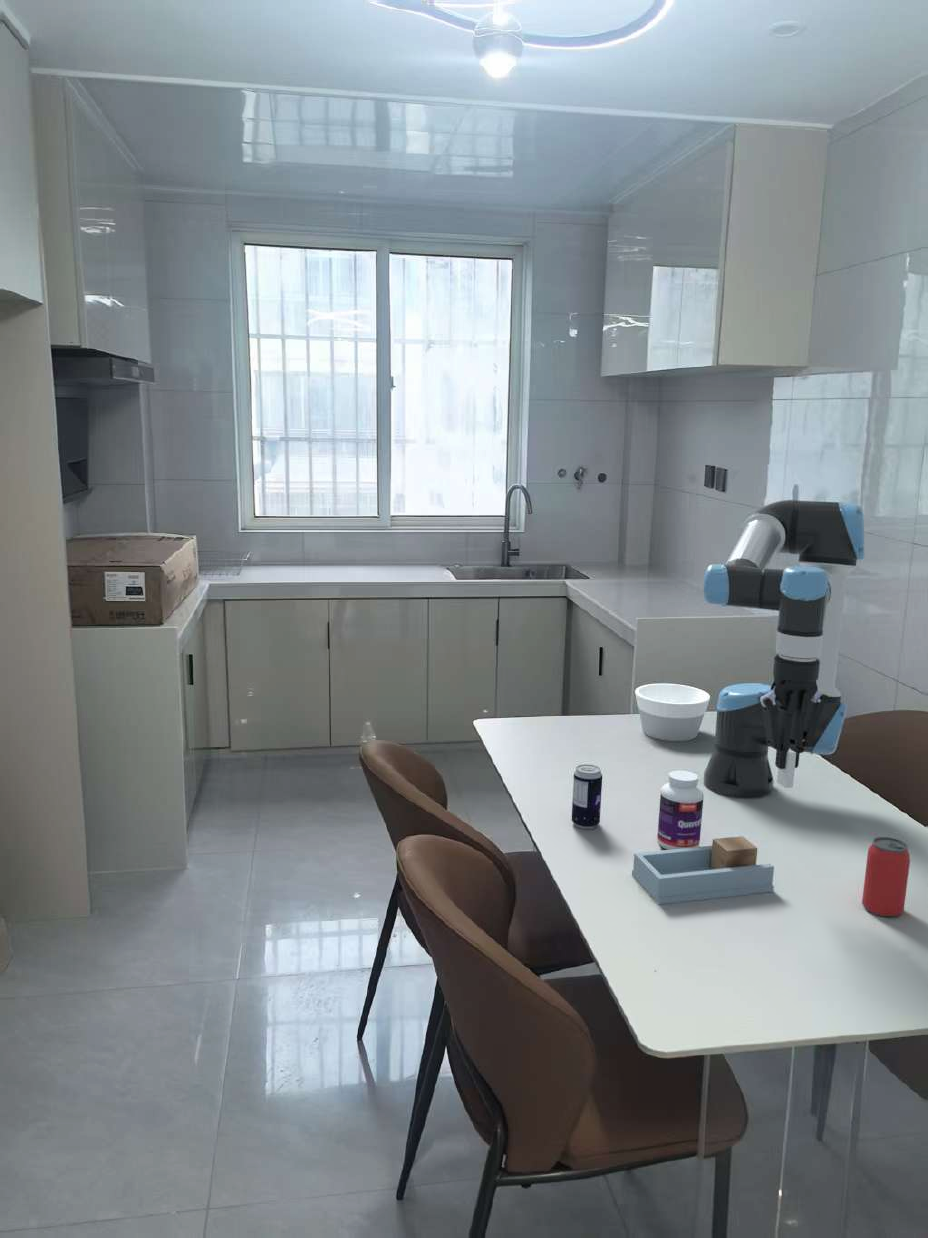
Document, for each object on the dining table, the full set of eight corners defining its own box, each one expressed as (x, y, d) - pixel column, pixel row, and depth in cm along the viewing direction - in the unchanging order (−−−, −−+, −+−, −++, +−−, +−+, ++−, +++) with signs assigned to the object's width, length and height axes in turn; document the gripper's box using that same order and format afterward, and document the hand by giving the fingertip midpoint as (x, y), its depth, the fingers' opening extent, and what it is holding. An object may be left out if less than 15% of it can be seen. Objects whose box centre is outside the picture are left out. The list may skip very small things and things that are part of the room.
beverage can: (598, 831, 194) (601, 775, 191) (570, 828, 195) (572, 772, 192) (600, 820, 199) (603, 765, 197) (572, 817, 200) (575, 762, 198)
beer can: (900, 922, 161) (908, 855, 159) (858, 911, 165) (865, 845, 162) (906, 906, 167) (914, 841, 164) (865, 895, 170) (872, 832, 168)
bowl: (632, 741, 249) (635, 701, 246) (632, 718, 267) (635, 681, 265) (709, 747, 246) (713, 706, 243) (704, 724, 264) (707, 685, 262)
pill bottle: (677, 858, 183) (682, 786, 180) (648, 842, 189) (652, 772, 186) (708, 849, 187) (714, 778, 184) (678, 834, 194) (683, 765, 191)
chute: (740, 863, 181) (742, 841, 180) (773, 891, 171) (775, 867, 170) (631, 875, 176) (633, 852, 175) (658, 904, 165) (660, 880, 164)
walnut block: (739, 866, 178) (742, 836, 176) (754, 879, 173) (757, 847, 172) (710, 869, 176) (712, 839, 175) (724, 882, 171) (726, 851, 170)
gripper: (817, 650, 174) (804, 775, 179) (752, 652, 170) (741, 779, 175) (843, 660, 167) (829, 790, 171) (776, 663, 163) (763, 795, 168)
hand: (784, 784), depth 173 cm, fingers closed
